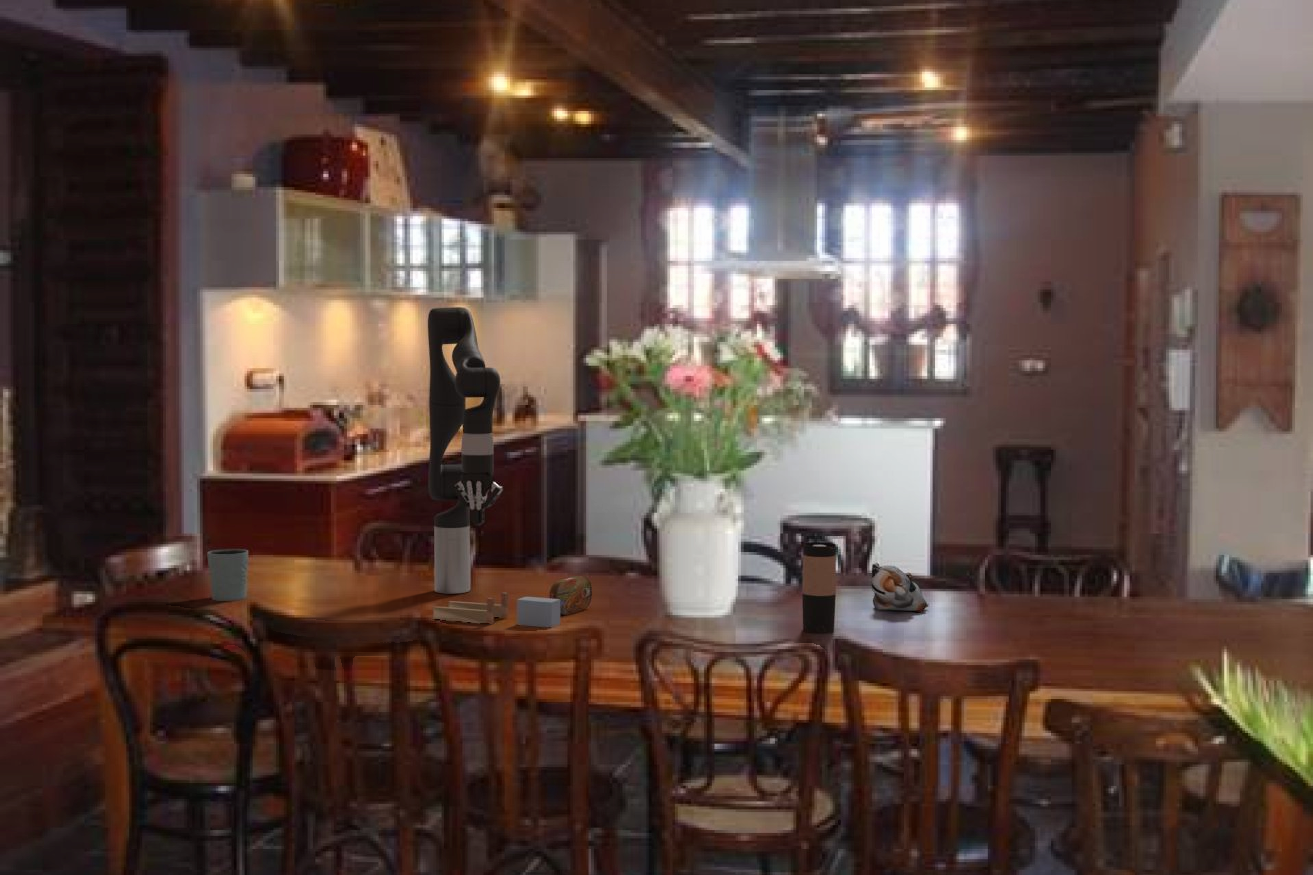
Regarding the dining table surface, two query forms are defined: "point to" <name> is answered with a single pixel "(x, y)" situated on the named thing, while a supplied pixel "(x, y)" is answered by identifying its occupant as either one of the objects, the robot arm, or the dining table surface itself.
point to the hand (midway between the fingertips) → (477, 524)
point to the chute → (473, 611)
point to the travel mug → (819, 586)
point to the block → (538, 612)
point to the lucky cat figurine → (895, 590)
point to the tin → (572, 594)
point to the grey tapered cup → (228, 574)
